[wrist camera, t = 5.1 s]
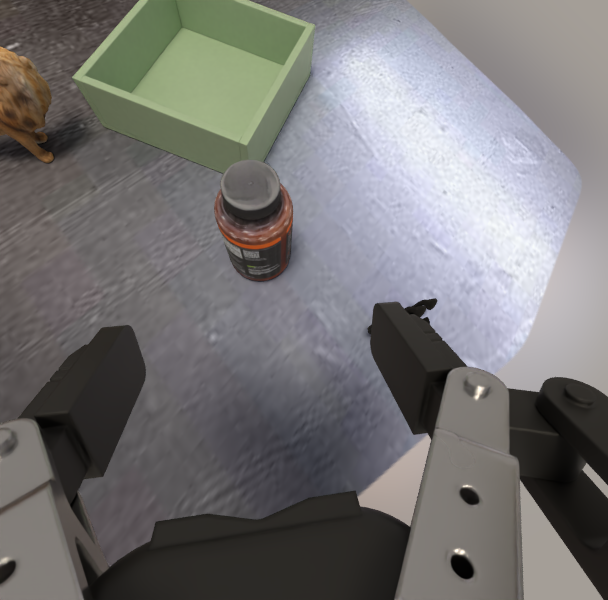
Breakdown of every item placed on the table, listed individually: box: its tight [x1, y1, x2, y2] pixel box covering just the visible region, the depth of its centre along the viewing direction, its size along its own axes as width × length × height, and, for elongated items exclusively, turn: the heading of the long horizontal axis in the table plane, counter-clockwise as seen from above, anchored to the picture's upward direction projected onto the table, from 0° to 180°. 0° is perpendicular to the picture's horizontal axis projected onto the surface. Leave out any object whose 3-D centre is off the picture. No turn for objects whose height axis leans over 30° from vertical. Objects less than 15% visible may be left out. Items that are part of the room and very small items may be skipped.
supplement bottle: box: [214, 160, 293, 281], centre depth 26 cm, size 6×6×11 cm
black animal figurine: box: [368, 299, 437, 334], centre depth 28 cm, size 7×2×5 cm, turn 115°
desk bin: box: [72, 0, 315, 174], centre depth 34 cm, size 18×18×6 cm
